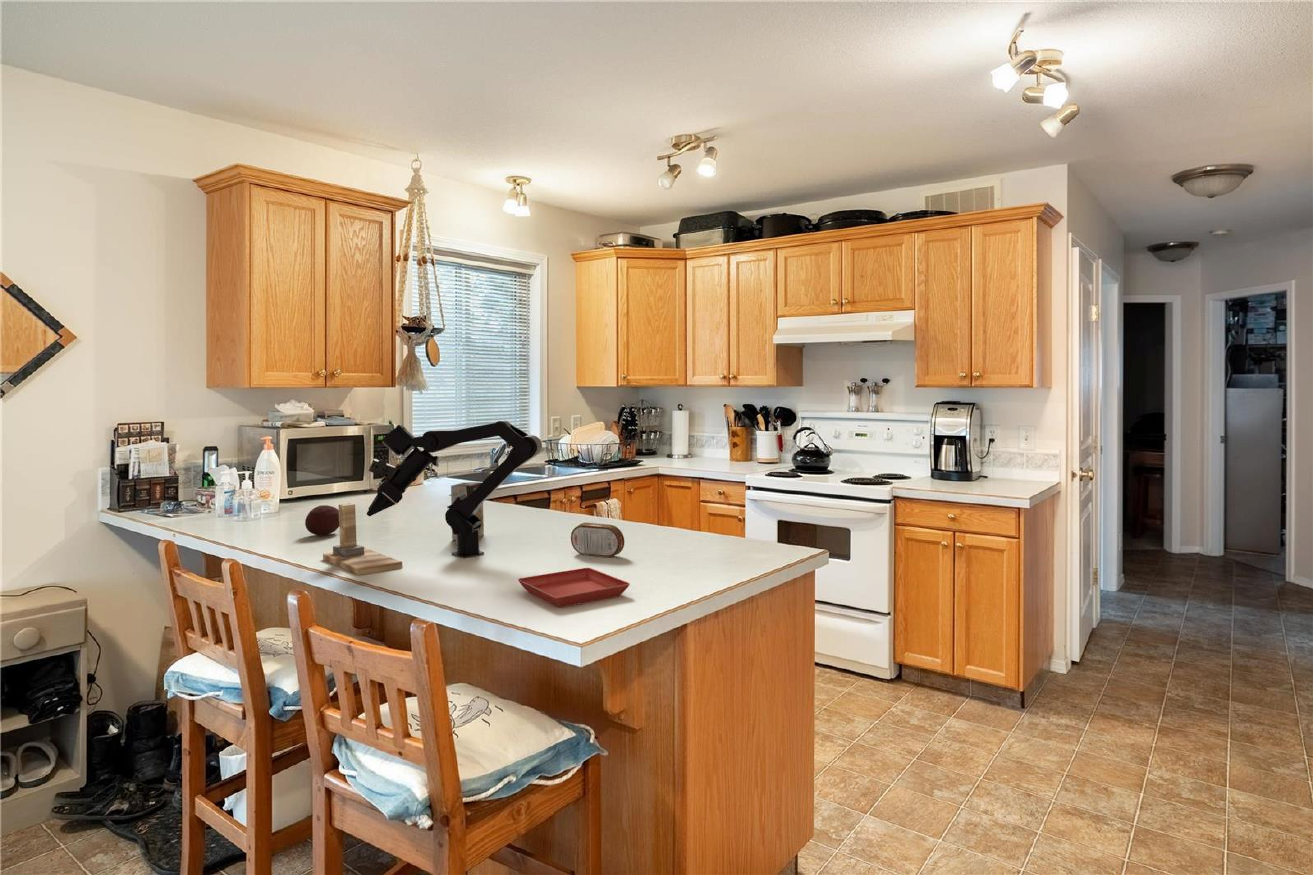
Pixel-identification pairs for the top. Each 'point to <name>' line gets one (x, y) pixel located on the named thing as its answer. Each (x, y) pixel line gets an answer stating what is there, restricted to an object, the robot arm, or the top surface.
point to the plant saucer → (574, 586)
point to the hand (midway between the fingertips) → (368, 512)
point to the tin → (597, 539)
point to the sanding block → (347, 532)
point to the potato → (322, 520)
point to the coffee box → (467, 489)
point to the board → (364, 562)
